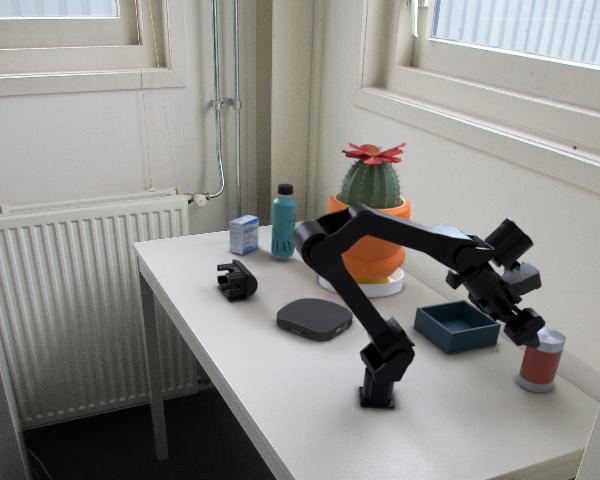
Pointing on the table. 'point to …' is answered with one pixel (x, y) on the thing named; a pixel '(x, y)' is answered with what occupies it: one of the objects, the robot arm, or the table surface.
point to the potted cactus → (381, 196)
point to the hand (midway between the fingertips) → (525, 335)
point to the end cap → (236, 281)
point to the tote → (456, 326)
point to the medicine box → (244, 234)
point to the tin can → (542, 361)
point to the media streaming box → (314, 318)
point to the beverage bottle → (283, 222)
